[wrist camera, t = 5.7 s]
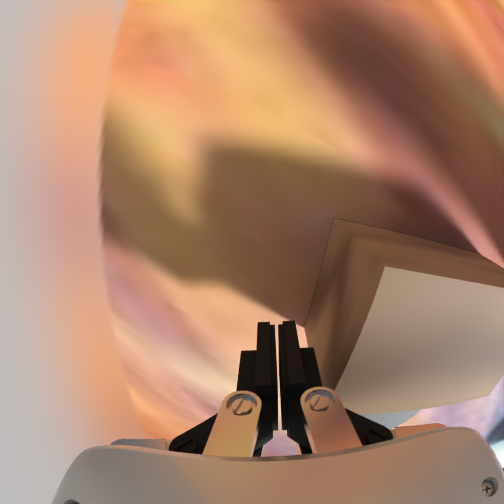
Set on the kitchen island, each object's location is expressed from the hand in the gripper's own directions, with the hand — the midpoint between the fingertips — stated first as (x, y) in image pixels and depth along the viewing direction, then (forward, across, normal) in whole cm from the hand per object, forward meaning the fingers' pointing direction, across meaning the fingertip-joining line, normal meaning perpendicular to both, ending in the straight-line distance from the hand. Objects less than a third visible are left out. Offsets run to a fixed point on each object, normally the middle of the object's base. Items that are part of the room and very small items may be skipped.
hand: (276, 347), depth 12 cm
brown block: (+4, -8, 0) cm, 10 cm away
